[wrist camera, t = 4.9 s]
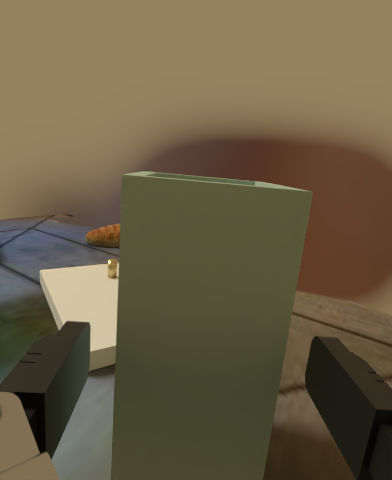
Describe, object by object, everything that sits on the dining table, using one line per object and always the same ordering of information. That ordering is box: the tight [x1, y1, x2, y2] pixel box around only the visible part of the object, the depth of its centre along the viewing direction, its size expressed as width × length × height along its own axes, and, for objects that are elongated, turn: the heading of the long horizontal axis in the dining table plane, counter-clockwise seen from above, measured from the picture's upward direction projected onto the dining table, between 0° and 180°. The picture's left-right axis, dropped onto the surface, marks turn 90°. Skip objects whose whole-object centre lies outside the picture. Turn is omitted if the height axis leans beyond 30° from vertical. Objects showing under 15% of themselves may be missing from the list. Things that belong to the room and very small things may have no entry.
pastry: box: [85, 224, 120, 248], centre depth 55 cm, size 9×7×4 cm
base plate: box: [40, 259, 119, 371], centre depth 32 cm, size 18×18×9 cm
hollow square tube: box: [111, 171, 313, 480], centre depth 15 cm, size 8×6×14 cm
